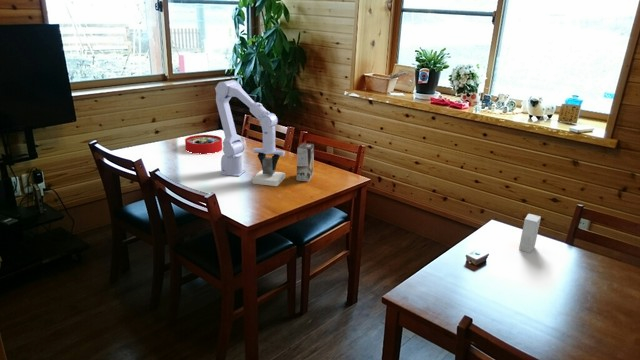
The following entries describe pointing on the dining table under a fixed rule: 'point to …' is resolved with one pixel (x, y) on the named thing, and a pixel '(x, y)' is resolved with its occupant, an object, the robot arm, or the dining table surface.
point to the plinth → (268, 178)
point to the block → (268, 166)
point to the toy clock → (203, 144)
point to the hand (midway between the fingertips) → (268, 169)
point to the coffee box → (305, 162)
